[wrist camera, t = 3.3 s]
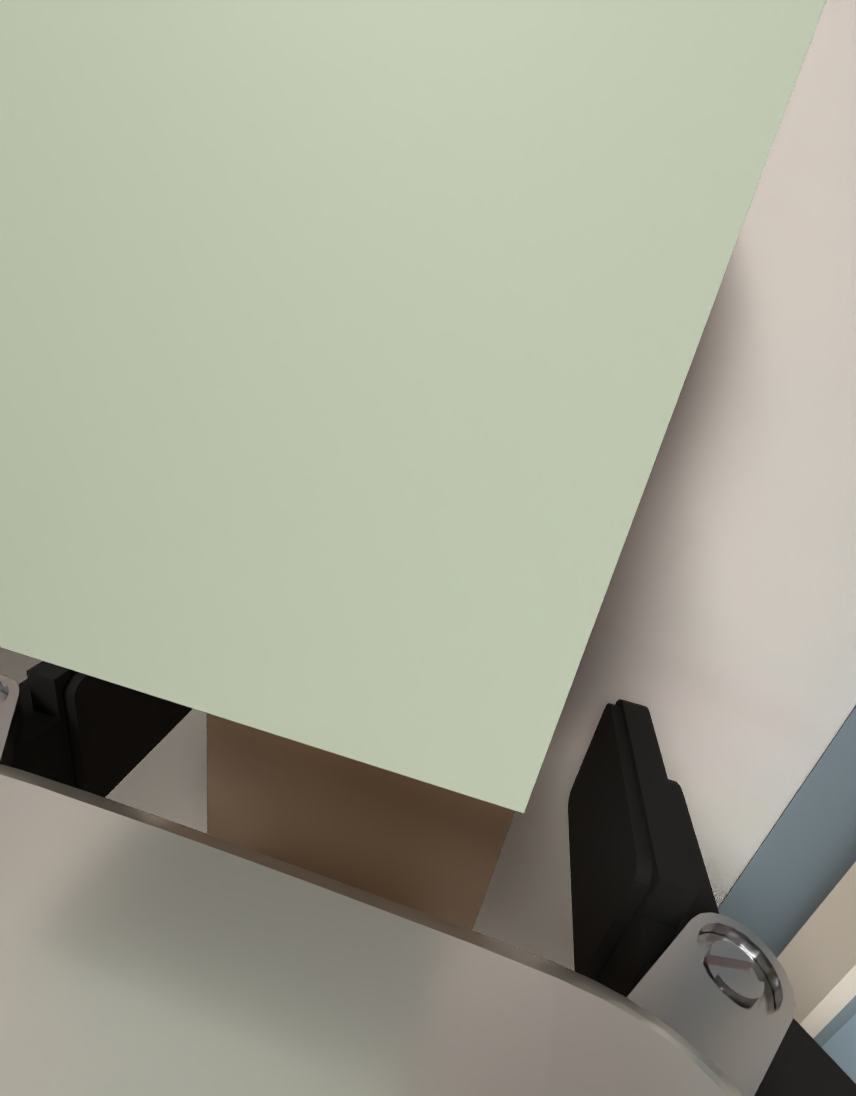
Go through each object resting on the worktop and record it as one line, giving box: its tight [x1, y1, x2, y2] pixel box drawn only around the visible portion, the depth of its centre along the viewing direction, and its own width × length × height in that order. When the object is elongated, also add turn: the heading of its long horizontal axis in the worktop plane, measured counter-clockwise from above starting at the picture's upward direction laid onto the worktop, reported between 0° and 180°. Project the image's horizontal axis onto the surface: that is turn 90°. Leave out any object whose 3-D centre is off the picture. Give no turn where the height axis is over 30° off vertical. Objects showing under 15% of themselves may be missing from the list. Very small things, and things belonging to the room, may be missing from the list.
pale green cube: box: [0, 0, 826, 813], centre depth 5 cm, size 4×4×4 cm
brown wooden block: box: [207, 713, 515, 930], centre depth 12 cm, size 23×6×4 cm, turn 170°
